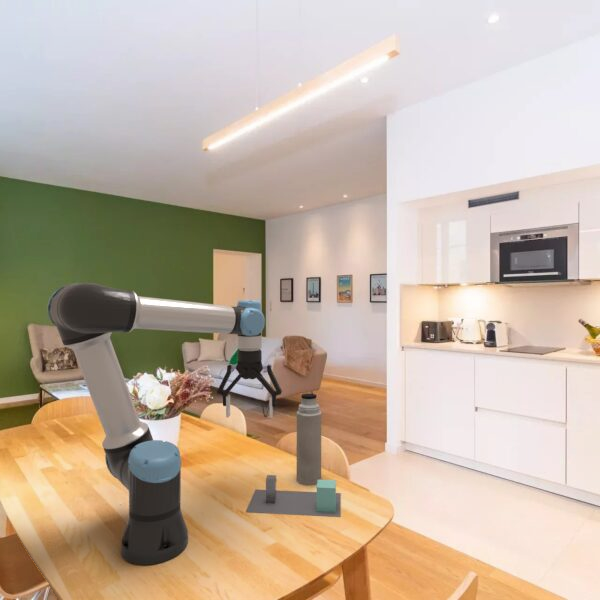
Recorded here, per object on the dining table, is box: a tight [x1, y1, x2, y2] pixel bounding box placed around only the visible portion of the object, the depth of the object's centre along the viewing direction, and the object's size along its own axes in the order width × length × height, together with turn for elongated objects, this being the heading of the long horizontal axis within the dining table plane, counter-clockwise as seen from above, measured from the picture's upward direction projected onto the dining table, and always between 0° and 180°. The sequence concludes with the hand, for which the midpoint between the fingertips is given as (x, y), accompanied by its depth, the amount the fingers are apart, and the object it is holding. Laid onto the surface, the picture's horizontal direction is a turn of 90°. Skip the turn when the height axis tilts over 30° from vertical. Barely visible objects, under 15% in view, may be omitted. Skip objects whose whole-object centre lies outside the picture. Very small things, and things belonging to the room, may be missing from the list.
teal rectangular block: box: [316, 479, 337, 512], centre depth 121 cm, size 5×5×7 cm
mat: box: [245, 488, 342, 518], centre depth 123 cm, size 14×26×1 cm, turn 85°
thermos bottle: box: [296, 393, 322, 487], centre depth 138 cm, size 8×8×28 cm
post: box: [265, 474, 277, 504], centre depth 124 cm, size 3×3×7 cm
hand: (249, 416), depth 135 cm, fingers open, 13 cm apart
